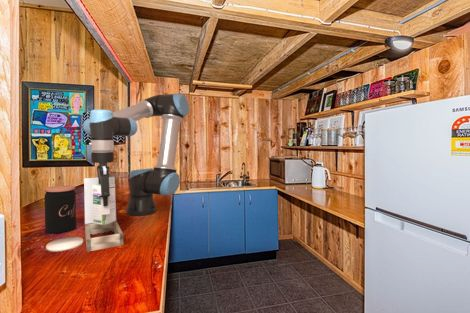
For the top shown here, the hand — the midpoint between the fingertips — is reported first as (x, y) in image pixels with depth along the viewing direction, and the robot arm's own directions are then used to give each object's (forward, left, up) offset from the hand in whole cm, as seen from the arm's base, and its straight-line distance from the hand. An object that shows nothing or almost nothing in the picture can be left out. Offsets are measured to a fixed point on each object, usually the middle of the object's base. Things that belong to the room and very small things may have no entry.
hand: (104, 211), depth 96 cm
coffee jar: (+15, -20, -11) cm, 27 cm away
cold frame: (+1, 0, -11) cm, 11 cm away
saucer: (+13, -1, -11) cm, 16 cm away
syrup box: (0, 0, -5) cm, 5 cm away
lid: (+1, -11, +2) cm, 11 cm away
